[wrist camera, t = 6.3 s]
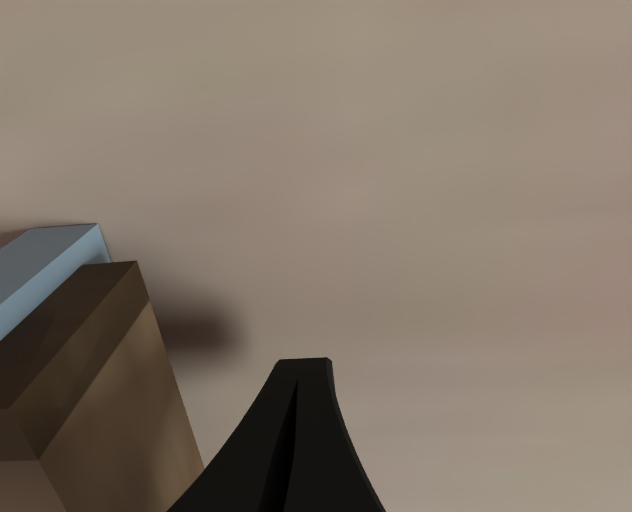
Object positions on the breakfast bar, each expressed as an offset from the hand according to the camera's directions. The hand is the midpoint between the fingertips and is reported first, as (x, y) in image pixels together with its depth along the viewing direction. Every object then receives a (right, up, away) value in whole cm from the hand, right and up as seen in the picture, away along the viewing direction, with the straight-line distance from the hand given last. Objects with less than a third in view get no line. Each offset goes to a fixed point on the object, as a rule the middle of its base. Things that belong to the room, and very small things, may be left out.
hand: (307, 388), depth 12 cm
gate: (-4, -3, +3) cm, 6 cm away
